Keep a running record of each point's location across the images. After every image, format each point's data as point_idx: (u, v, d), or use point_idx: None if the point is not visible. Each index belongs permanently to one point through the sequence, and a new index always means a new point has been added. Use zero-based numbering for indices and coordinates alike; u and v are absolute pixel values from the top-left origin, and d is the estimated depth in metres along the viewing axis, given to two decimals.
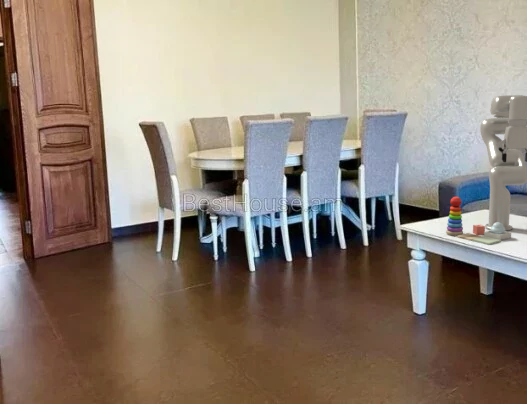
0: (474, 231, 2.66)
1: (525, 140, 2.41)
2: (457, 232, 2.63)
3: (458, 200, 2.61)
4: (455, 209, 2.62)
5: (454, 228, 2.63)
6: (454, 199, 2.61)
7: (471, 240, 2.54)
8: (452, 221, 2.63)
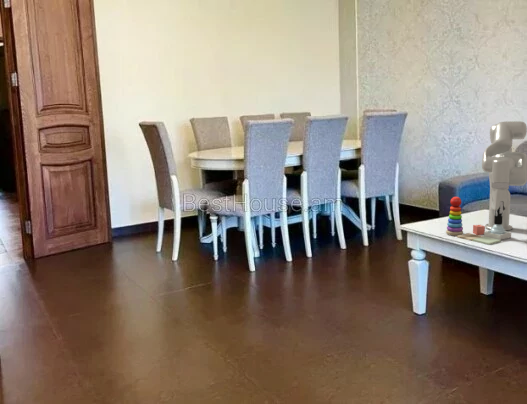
0: (474, 231, 2.66)
1: None
2: (457, 232, 2.63)
3: (458, 200, 2.61)
4: (455, 209, 2.62)
5: (454, 228, 2.63)
6: (454, 199, 2.61)
7: (471, 240, 2.54)
8: (452, 221, 2.63)
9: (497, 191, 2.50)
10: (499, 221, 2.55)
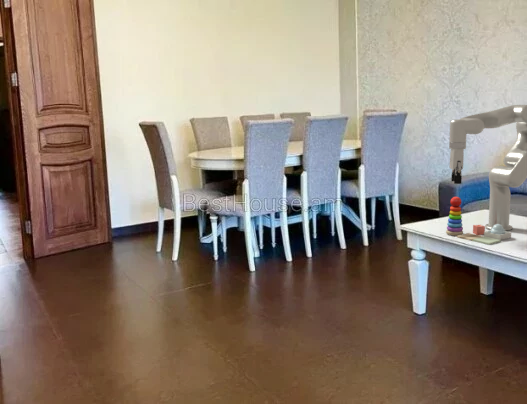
0: (474, 231, 2.66)
1: None
2: (457, 232, 2.63)
3: (458, 200, 2.61)
4: (455, 209, 2.62)
5: (454, 228, 2.63)
6: (454, 199, 2.61)
7: (471, 240, 2.54)
8: (452, 221, 2.63)
9: (454, 151, 2.55)
10: (458, 180, 2.57)
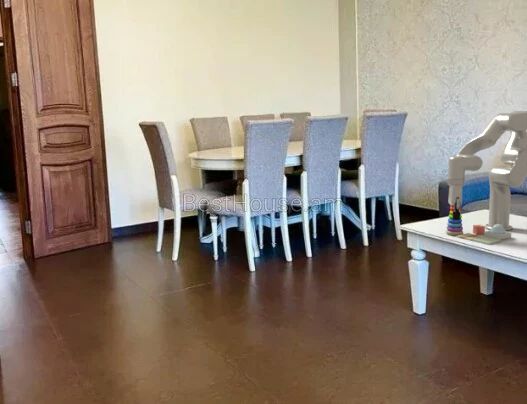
0: (474, 231, 2.66)
1: None
2: (457, 232, 2.63)
3: None
4: None
5: (454, 228, 2.63)
6: None
7: (471, 240, 2.54)
8: (452, 221, 2.63)
9: (453, 187, 2.59)
10: (457, 217, 2.60)
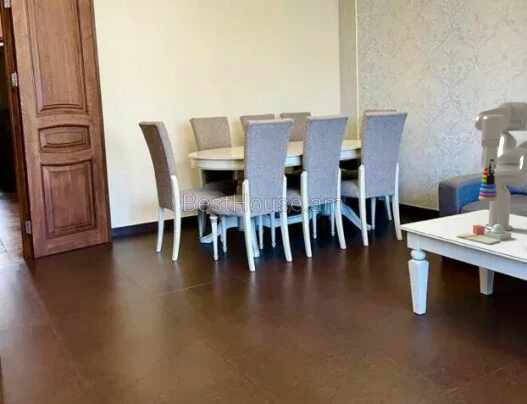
0: (474, 231, 2.66)
1: None
2: (491, 197, 2.45)
3: None
4: None
5: (487, 193, 2.45)
6: None
7: (471, 240, 2.54)
8: (485, 186, 2.45)
9: (487, 149, 2.40)
10: (491, 181, 2.42)
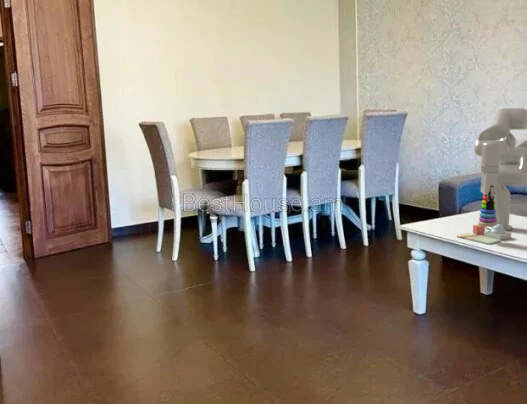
0: (474, 231, 2.66)
1: None
2: (491, 223, 2.46)
3: None
4: None
5: (487, 219, 2.46)
6: None
7: (471, 240, 2.54)
8: (485, 211, 2.47)
9: (487, 175, 2.42)
10: (490, 207, 2.44)
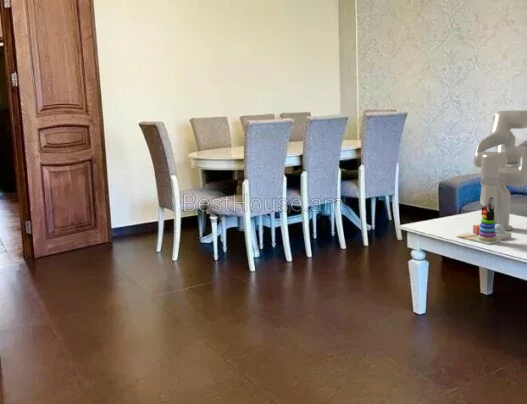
0: (474, 231, 2.66)
1: None
2: (490, 237, 2.48)
3: None
4: None
5: (487, 233, 2.48)
6: None
7: (471, 240, 2.54)
8: (485, 226, 2.48)
9: (486, 187, 2.43)
10: (491, 217, 2.44)
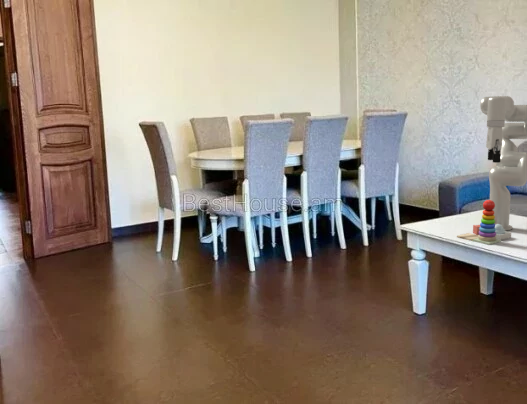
0: (474, 231, 2.66)
1: None
2: (490, 237, 2.48)
3: (491, 203, 2.46)
4: (488, 213, 2.47)
5: (487, 233, 2.48)
6: (487, 202, 2.47)
7: (471, 240, 2.54)
8: (485, 226, 2.48)
9: (493, 129, 2.46)
10: (497, 159, 2.47)
